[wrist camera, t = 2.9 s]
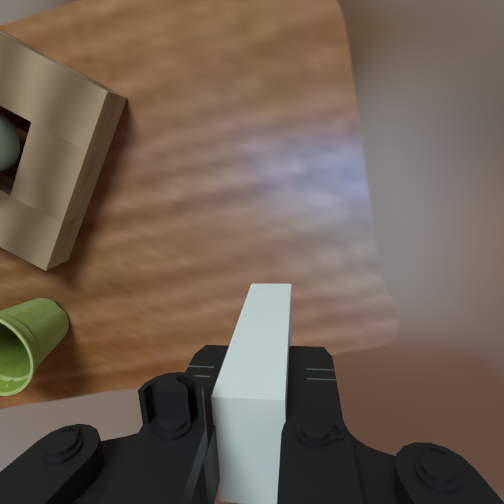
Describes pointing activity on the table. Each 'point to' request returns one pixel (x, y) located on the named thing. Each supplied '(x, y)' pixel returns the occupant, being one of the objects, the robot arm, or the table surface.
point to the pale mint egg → (8, 144)
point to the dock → (52, 151)
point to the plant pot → (28, 340)
